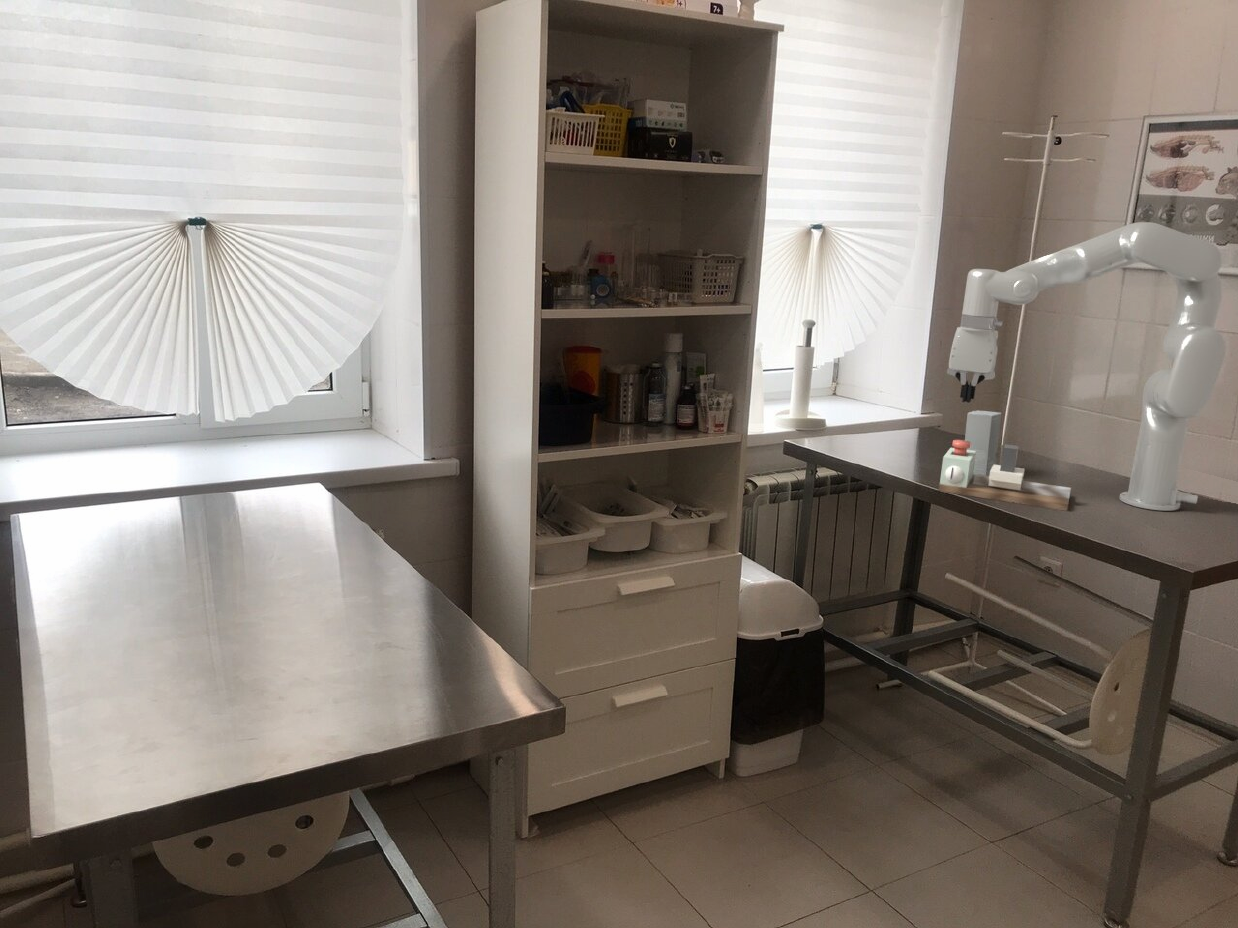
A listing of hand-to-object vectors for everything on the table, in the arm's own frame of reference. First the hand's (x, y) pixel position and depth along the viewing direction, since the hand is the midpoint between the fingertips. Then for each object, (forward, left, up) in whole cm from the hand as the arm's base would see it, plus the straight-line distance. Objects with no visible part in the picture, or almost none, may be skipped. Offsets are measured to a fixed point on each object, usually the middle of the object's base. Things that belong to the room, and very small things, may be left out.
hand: (966, 401), depth 233 cm
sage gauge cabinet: (0, 0, -19) cm, 19 cm away
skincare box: (-3, -18, -21) cm, 28 cm away
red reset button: (0, 0, -13) cm, 13 cm away
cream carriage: (-11, 0, -19) cm, 22 cm away
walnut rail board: (-11, 0, -21) cm, 24 cm away
